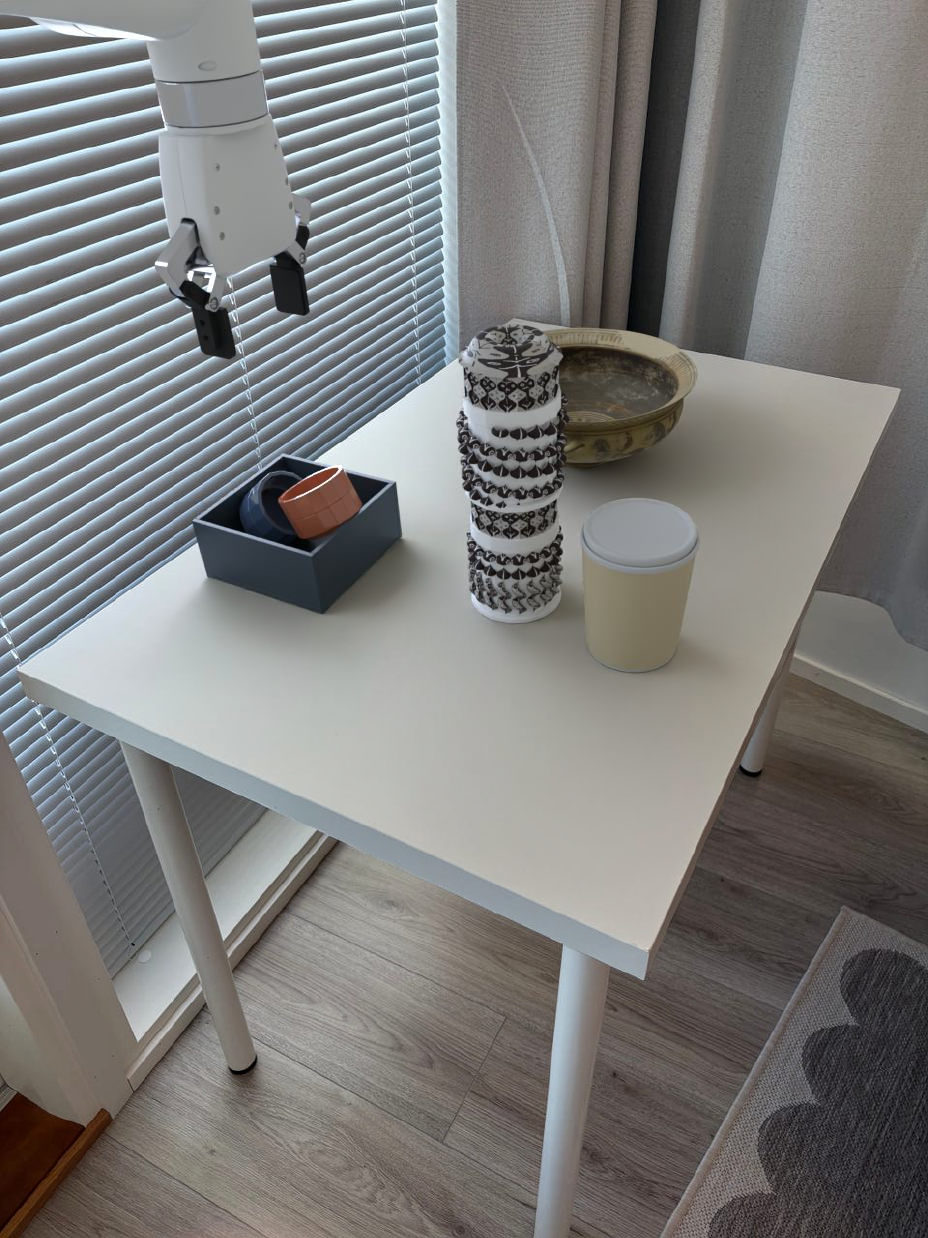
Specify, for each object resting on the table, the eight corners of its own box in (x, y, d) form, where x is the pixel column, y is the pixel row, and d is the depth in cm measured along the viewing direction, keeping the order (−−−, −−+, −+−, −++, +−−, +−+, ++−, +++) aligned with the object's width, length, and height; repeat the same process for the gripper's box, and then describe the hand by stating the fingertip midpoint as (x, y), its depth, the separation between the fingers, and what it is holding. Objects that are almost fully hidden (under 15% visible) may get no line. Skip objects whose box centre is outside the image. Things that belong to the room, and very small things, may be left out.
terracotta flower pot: (302, 550, 88) (278, 508, 86) (301, 532, 94) (278, 492, 92) (368, 516, 88) (344, 473, 86) (361, 499, 94) (339, 459, 92)
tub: (322, 614, 88) (311, 556, 83) (206, 576, 93) (191, 520, 89) (402, 536, 97) (396, 481, 93) (292, 506, 103) (282, 453, 98)
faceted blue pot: (239, 547, 92) (260, 529, 89) (235, 484, 94) (255, 464, 91) (301, 557, 96) (323, 540, 93) (296, 497, 99) (317, 478, 95)
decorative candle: (583, 582, 89) (591, 323, 73) (535, 638, 83) (533, 370, 68) (499, 556, 93) (490, 305, 78) (448, 607, 87) (427, 347, 72)
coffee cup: (705, 633, 83) (721, 516, 75) (654, 695, 77) (666, 575, 69) (611, 597, 87) (617, 484, 80) (556, 653, 82) (557, 537, 74)
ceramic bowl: (653, 538, 94) (660, 449, 88) (433, 499, 102) (426, 415, 96) (712, 406, 115) (722, 326, 109) (527, 382, 123) (526, 306, 117)
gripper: (250, 78, 75) (285, 292, 86) (86, 125, 64) (151, 366, 75) (326, 81, 72) (354, 303, 83) (169, 132, 61) (224, 382, 71)
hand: (258, 333), depth 79 cm, fingers open, 9 cm apart
